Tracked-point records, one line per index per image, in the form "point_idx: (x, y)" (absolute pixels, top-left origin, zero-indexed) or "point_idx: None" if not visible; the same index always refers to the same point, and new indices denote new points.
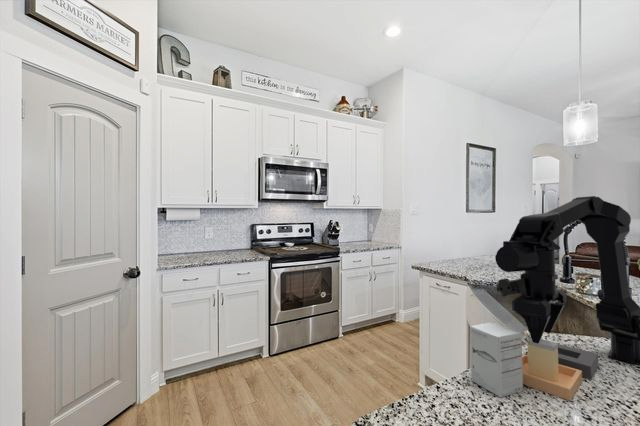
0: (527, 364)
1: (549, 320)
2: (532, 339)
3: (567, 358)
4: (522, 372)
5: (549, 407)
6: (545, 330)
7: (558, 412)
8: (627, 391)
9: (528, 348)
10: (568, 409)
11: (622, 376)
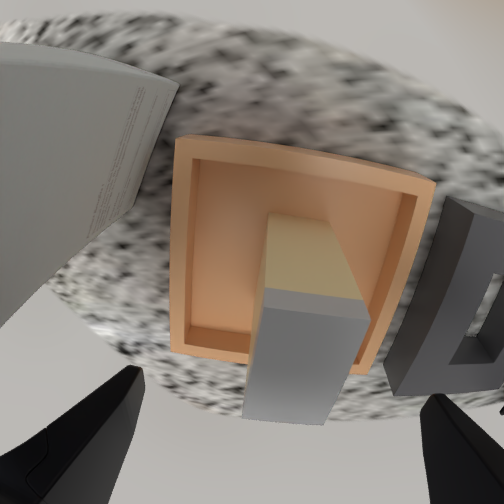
0: (386, 196)
1: (448, 483)
2: (117, 377)
3: (437, 344)
4: (97, 235)
5: (96, 282)
6: (434, 406)
7: (91, 300)
8: (352, 413)
9: (265, 276)
10: (127, 320)
11: None
